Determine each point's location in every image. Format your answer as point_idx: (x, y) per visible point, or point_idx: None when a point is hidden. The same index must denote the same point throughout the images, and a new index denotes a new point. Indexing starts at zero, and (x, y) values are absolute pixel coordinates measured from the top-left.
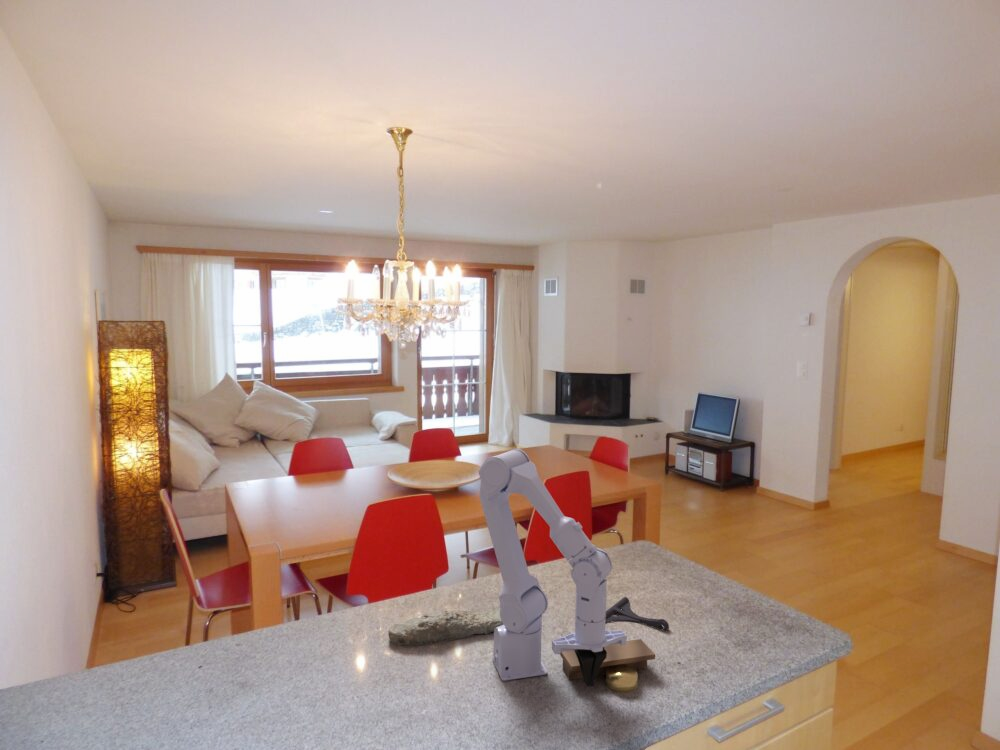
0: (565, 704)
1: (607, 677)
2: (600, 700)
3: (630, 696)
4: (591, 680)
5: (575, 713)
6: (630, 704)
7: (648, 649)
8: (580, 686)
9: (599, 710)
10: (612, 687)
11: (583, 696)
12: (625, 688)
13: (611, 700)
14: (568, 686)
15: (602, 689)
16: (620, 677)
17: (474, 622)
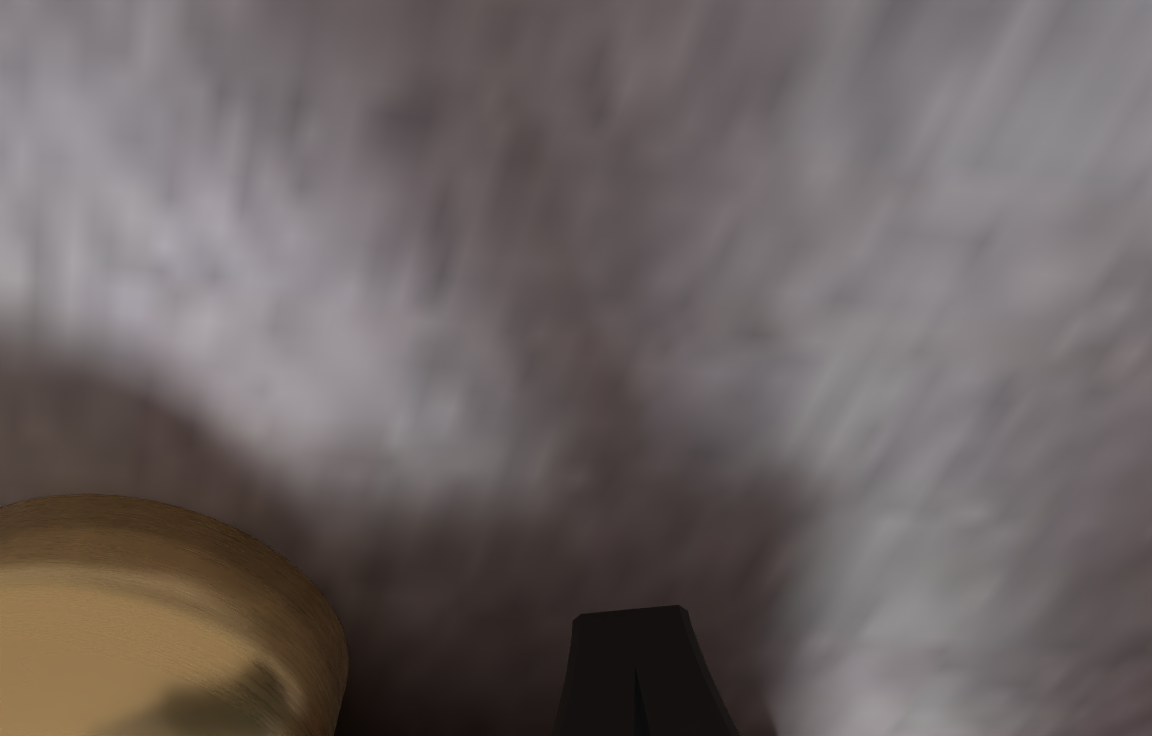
0: (1083, 360)
1: (316, 732)
2: (520, 386)
3: (28, 421)
4: (634, 690)
5: (1064, 134)
6: (35, 246)
7: None
8: None
9: (618, 159)
10: (279, 587)
11: (737, 484)
12: (72, 544)
13: (347, 369)
14: (841, 652)
15: (425, 577)
16: (96, 717)
17: None
